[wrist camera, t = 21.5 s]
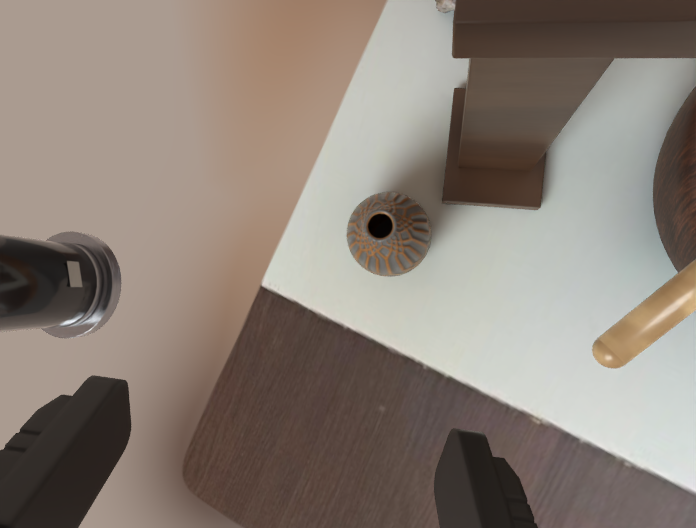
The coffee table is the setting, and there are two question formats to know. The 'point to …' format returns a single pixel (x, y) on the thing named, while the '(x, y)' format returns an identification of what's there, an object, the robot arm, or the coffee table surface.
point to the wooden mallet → (648, 320)
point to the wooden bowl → (678, 187)
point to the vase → (389, 234)
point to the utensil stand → (540, 82)
